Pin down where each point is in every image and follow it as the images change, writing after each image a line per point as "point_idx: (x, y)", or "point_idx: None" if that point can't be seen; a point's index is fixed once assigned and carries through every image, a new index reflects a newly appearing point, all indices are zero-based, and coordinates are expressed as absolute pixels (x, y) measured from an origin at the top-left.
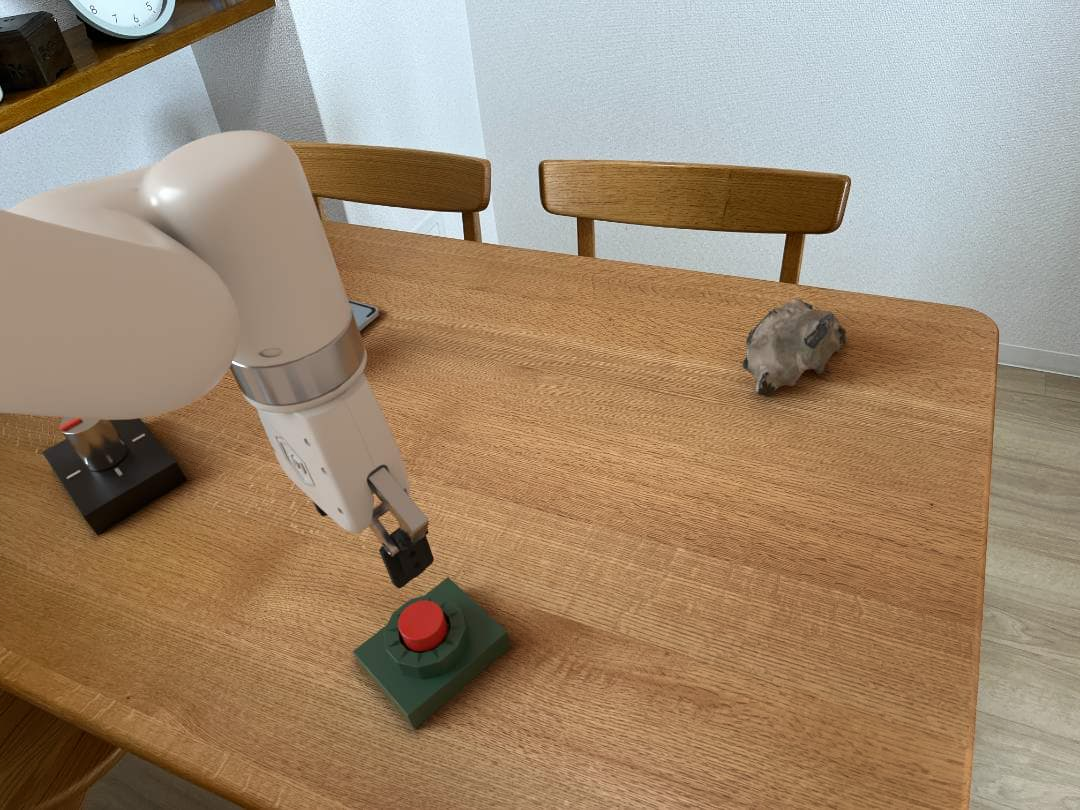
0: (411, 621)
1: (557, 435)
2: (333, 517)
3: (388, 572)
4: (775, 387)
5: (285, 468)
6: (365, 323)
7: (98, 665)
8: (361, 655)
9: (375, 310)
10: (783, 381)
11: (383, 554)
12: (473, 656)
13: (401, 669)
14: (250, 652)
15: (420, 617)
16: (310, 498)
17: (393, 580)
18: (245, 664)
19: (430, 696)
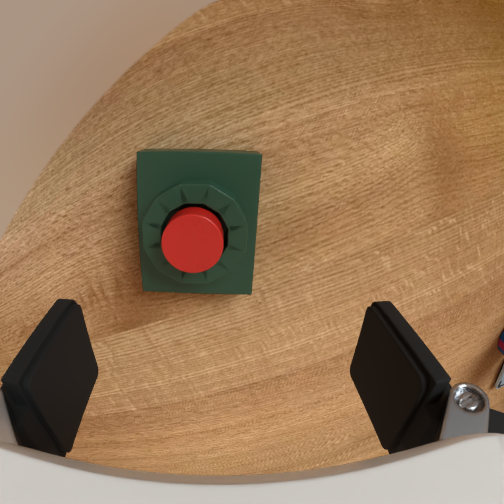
0: (198, 235)
1: (300, 426)
2: (27, 484)
3: (49, 325)
4: None
5: (488, 490)
6: (500, 377)
7: (461, 13)
8: (247, 159)
9: (497, 387)
10: None
11: (2, 378)
12: (142, 249)
13: (180, 181)
14: (374, 86)
15: (194, 246)
16: (278, 485)
17: (48, 312)
18: (366, 74)
19: (137, 185)
